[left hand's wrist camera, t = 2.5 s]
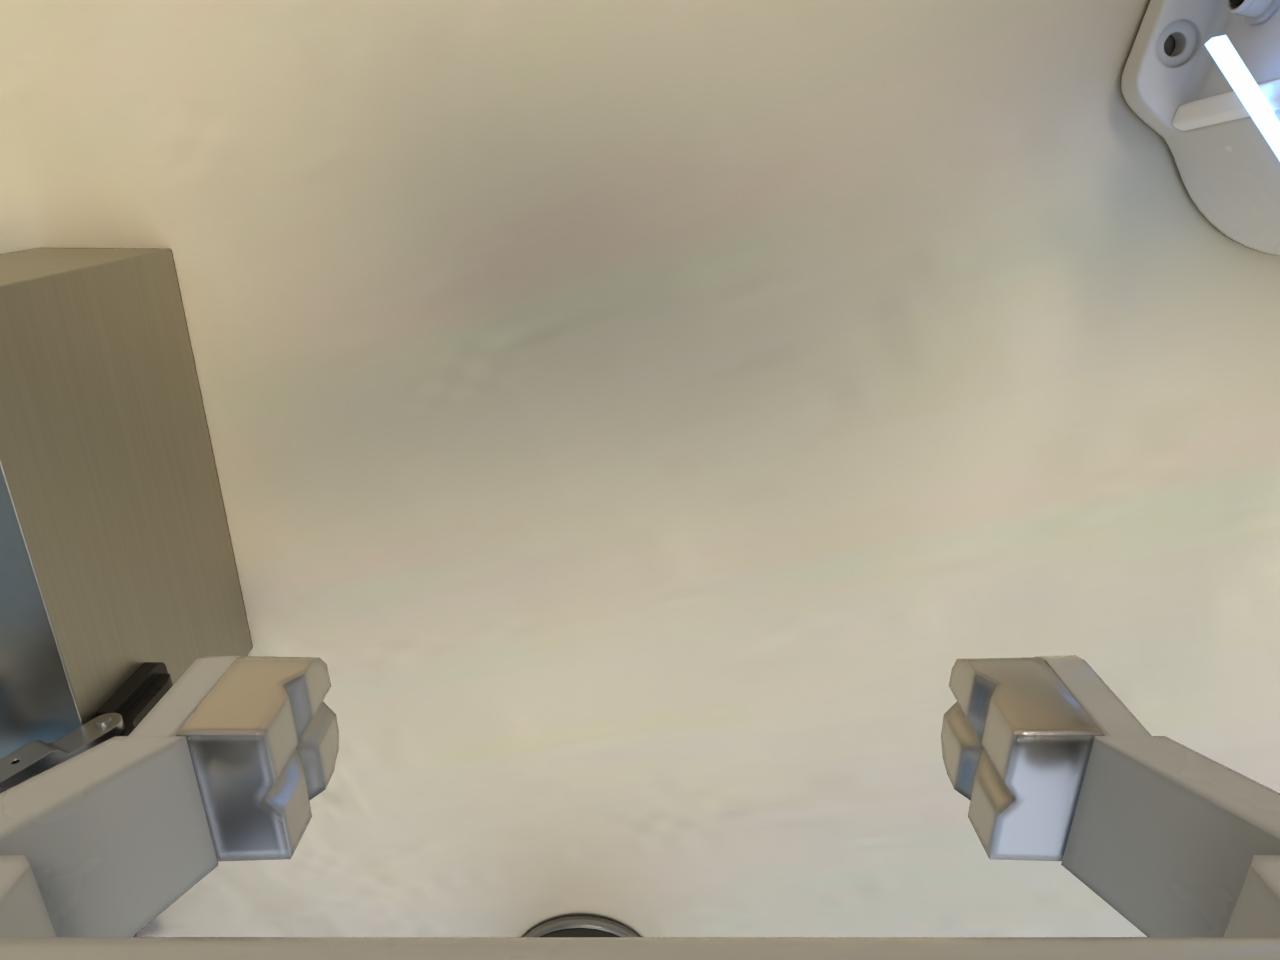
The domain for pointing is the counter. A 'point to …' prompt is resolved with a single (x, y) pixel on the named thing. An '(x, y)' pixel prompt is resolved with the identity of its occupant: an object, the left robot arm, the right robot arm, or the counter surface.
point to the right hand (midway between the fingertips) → (85, 678)
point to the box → (103, 489)
